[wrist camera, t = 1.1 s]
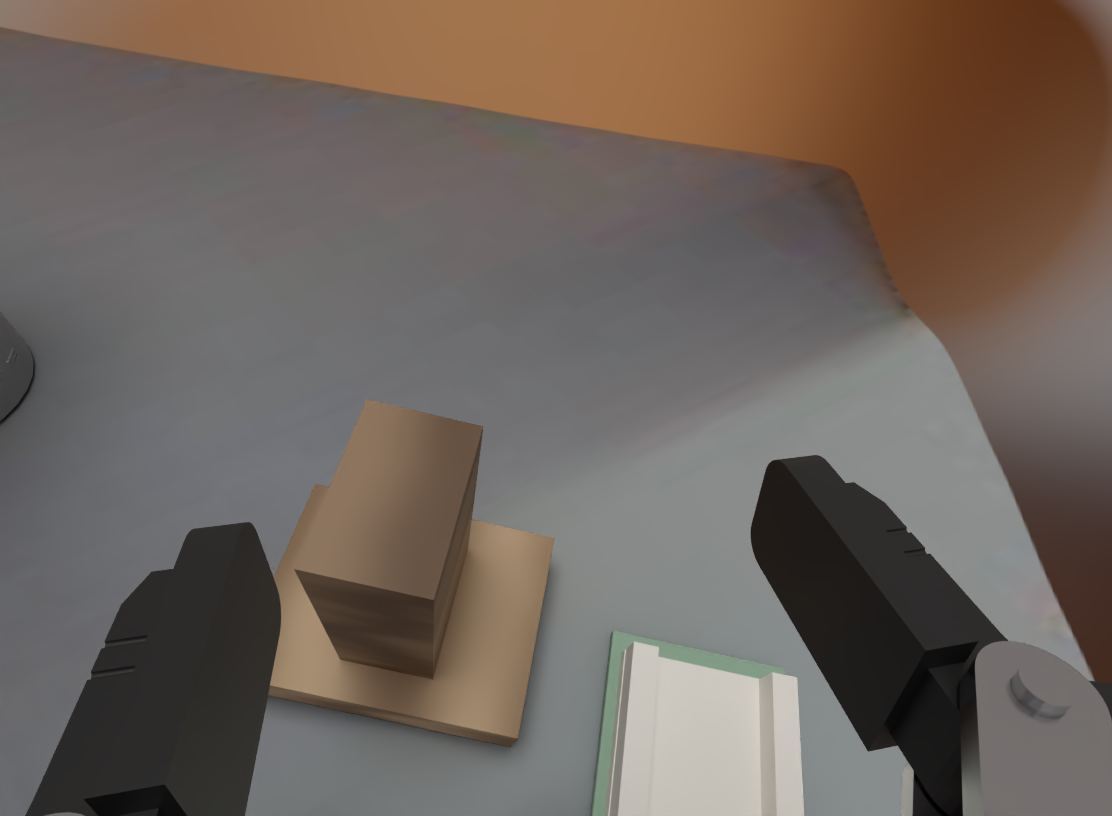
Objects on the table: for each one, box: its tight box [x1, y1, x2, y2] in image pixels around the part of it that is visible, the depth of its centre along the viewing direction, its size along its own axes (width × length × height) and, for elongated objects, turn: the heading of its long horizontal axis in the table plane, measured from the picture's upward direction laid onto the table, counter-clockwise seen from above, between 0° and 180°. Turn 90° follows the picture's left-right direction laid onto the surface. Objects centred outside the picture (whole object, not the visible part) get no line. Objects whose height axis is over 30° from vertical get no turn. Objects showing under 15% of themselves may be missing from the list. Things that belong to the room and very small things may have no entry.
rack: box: [604, 642, 804, 816], centre depth 28 cm, size 8×8×2 cm
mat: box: [591, 631, 785, 816], centre depth 29 cm, size 9×10×1 cm
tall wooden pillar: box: [294, 400, 483, 680], centre depth 24 cm, size 4×6×11 cm, turn 170°
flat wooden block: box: [268, 484, 554, 747], centre depth 30 cm, size 12×9×3 cm
